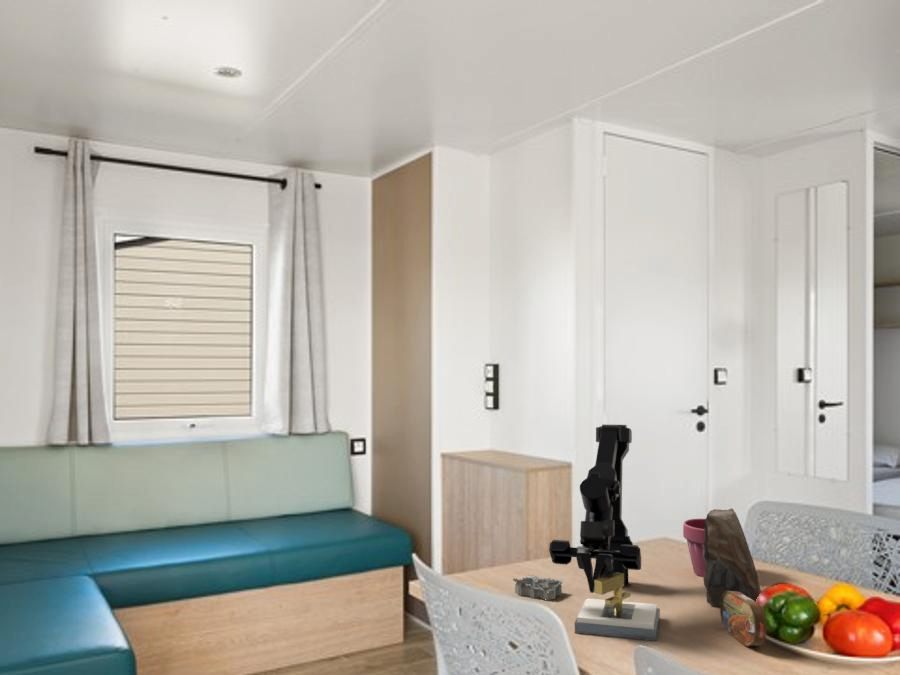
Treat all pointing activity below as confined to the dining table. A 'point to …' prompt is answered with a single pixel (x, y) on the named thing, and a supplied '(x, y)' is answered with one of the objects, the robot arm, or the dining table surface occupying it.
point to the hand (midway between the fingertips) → (591, 591)
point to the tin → (743, 618)
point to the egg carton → (538, 587)
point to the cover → (594, 612)
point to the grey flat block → (619, 627)
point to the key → (612, 584)
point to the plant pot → (696, 543)
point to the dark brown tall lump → (727, 558)
